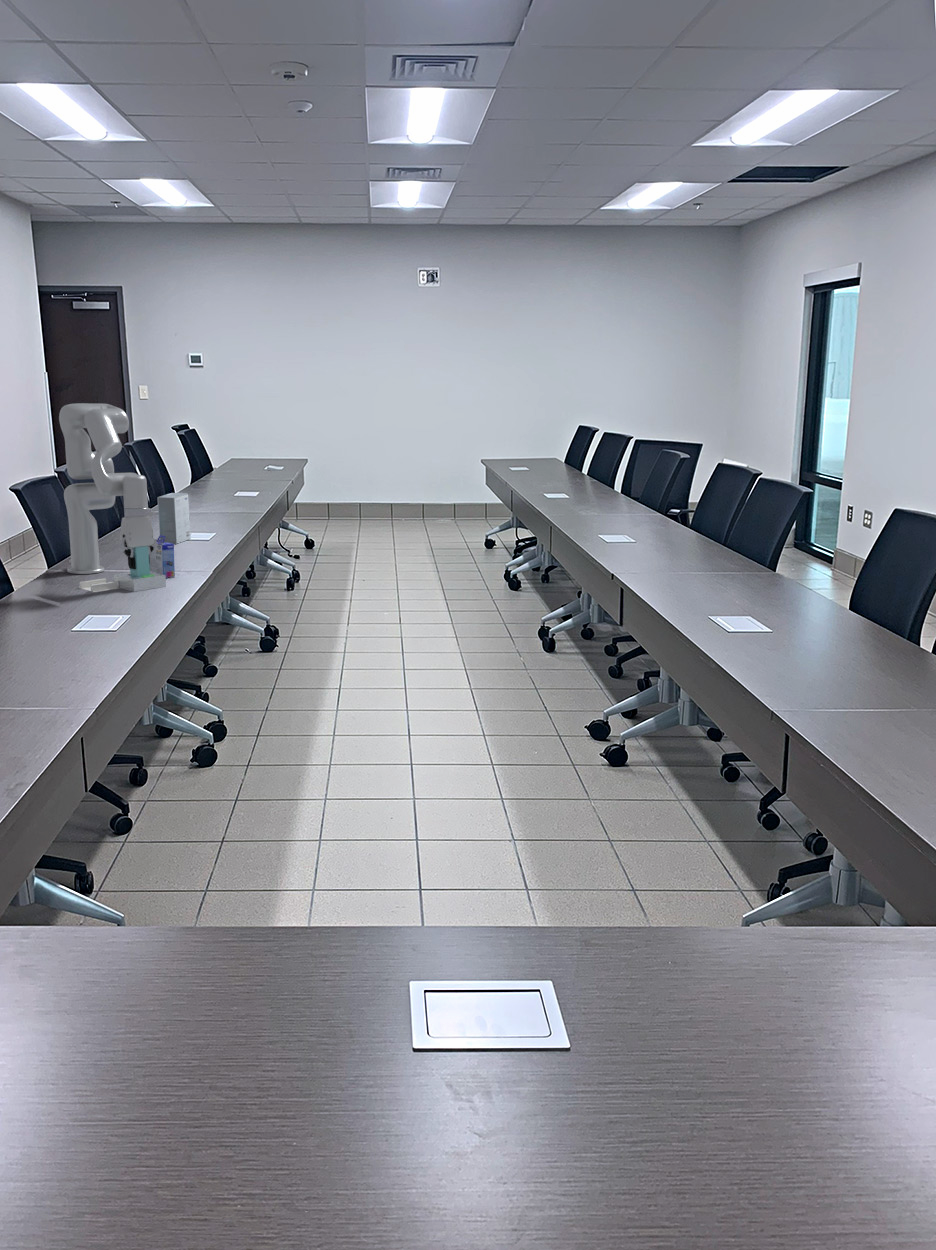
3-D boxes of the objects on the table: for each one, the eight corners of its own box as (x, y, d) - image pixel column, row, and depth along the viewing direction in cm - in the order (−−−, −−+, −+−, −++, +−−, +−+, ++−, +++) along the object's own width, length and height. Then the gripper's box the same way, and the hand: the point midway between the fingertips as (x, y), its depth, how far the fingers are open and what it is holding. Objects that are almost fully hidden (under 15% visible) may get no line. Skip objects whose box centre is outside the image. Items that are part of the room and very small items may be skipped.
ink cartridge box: (176, 577, 372) (174, 536, 369) (163, 579, 368) (161, 538, 365) (158, 573, 378) (157, 533, 375) (145, 575, 374) (143, 535, 370)
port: (114, 589, 350) (113, 572, 348) (145, 584, 358) (144, 568, 357) (134, 594, 342) (133, 577, 341) (166, 589, 351) (165, 573, 350)
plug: (130, 576, 349) (128, 544, 346) (142, 574, 352) (140, 543, 350) (138, 577, 346) (135, 545, 344) (150, 575, 349) (147, 544, 347)
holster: (78, 590, 346) (77, 581, 346) (103, 586, 353) (102, 578, 352) (94, 595, 340) (94, 586, 339) (119, 591, 347) (118, 582, 346)
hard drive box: (174, 538, 457) (172, 492, 452) (191, 539, 456) (189, 493, 451) (159, 543, 442) (157, 496, 437) (176, 544, 441) (174, 497, 436)
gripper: (152, 509, 353) (155, 563, 357) (106, 514, 340) (110, 569, 345) (165, 511, 348) (167, 566, 352) (119, 516, 336) (122, 572, 340)
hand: (139, 567), depth 348 cm, fingers closed on plug, 4 cm apart
